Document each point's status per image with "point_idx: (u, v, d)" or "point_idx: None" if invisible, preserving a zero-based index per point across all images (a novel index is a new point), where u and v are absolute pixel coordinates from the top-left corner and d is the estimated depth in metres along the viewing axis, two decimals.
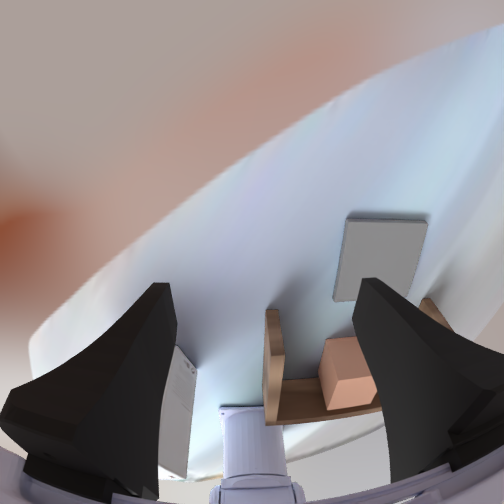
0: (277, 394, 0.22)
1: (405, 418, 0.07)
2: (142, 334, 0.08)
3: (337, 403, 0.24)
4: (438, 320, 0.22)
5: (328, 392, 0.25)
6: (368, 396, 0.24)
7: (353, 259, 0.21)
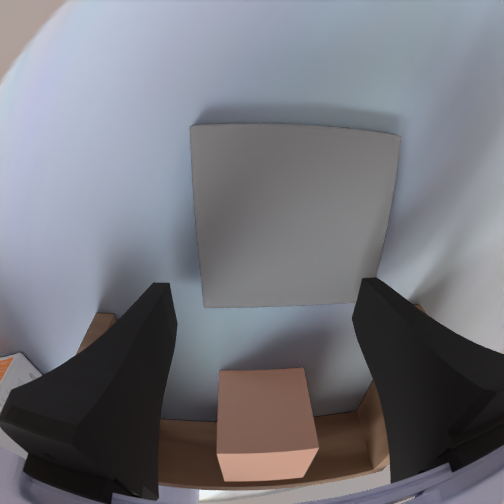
0: None
1: (405, 418, 0.07)
2: (142, 334, 0.08)
3: (238, 476, 0.13)
4: None
5: None
6: (294, 472, 0.13)
7: (221, 215, 0.10)
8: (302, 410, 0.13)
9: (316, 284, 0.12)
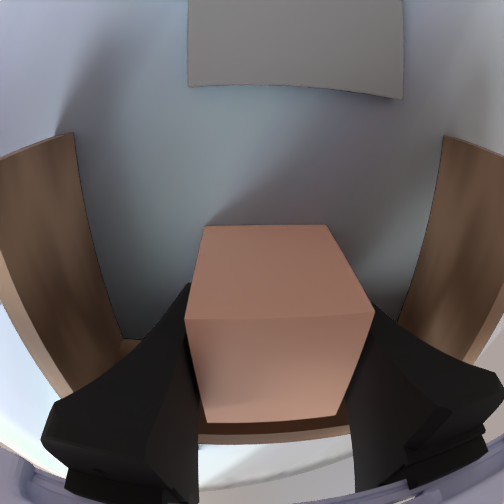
0: (35, 337, 0.07)
1: (366, 427, 0.07)
2: None
3: (228, 407, 0.09)
4: (499, 156, 0.07)
5: None
6: (325, 396, 0.08)
7: None
8: (334, 264, 0.09)
9: (333, 58, 0.08)
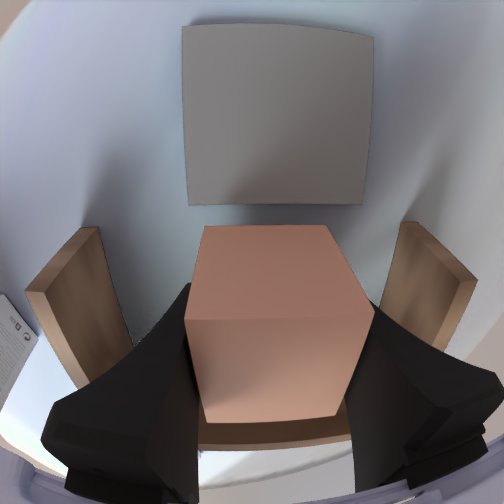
0: None
1: (366, 427, 0.07)
2: None
3: (228, 407, 0.09)
4: (438, 255, 0.10)
5: None
6: (325, 396, 0.08)
7: (207, 101, 0.10)
8: (334, 264, 0.09)
9: (304, 178, 0.11)
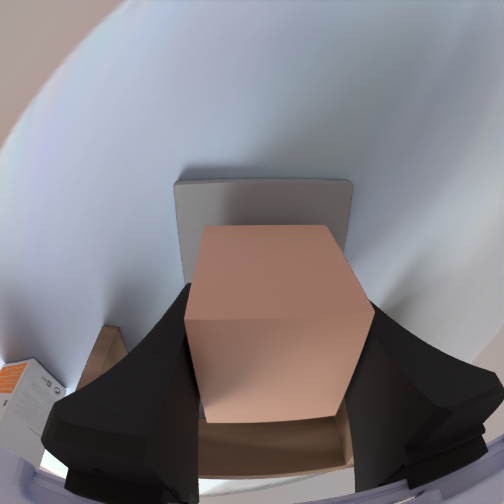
0: None
1: (366, 427, 0.07)
2: None
3: (228, 407, 0.09)
4: None
5: None
6: (325, 396, 0.08)
7: None
8: (334, 264, 0.09)
9: None
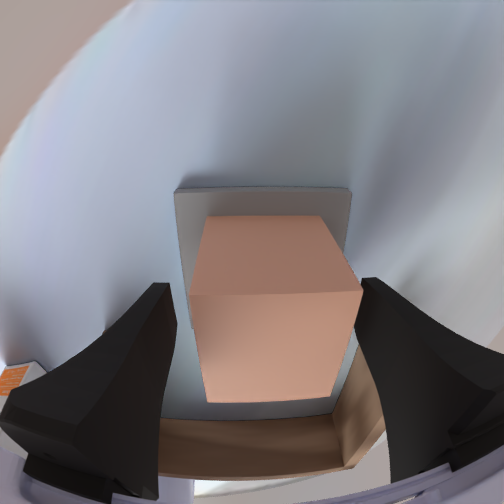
0: None
1: (405, 418, 0.07)
2: (142, 334, 0.08)
3: (228, 386, 0.09)
4: None
5: None
6: (319, 376, 0.09)
7: None
8: (326, 249, 0.09)
9: None
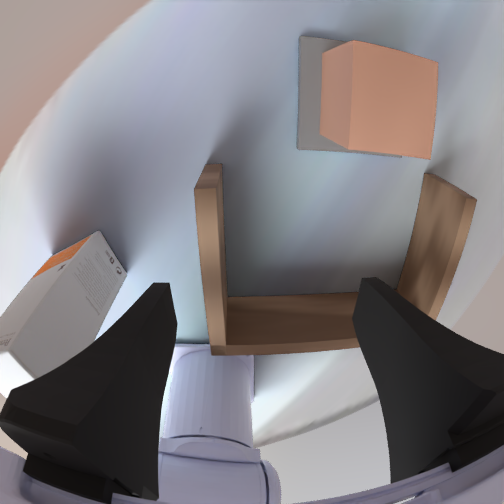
0: (216, 282, 0.16)
1: (405, 418, 0.07)
2: (142, 334, 0.08)
3: (366, 127, 0.11)
4: (451, 188, 0.15)
5: (343, 109, 0.12)
6: (423, 129, 0.11)
7: (315, 85, 0.15)
8: None
9: None
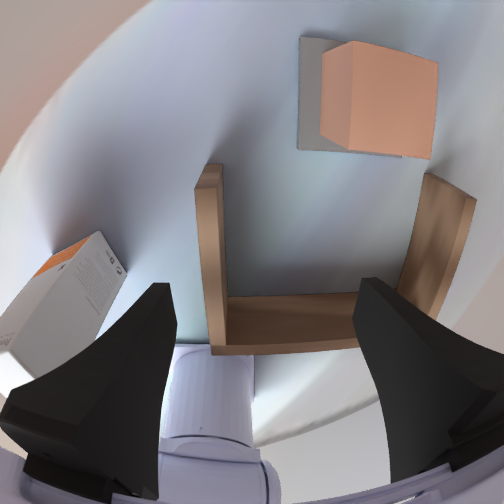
0: (217, 282, 0.16)
1: (405, 418, 0.07)
2: (142, 334, 0.08)
3: (367, 127, 0.11)
4: (450, 188, 0.15)
5: (343, 109, 0.12)
6: (423, 129, 0.11)
7: (315, 85, 0.15)
8: None
9: None
